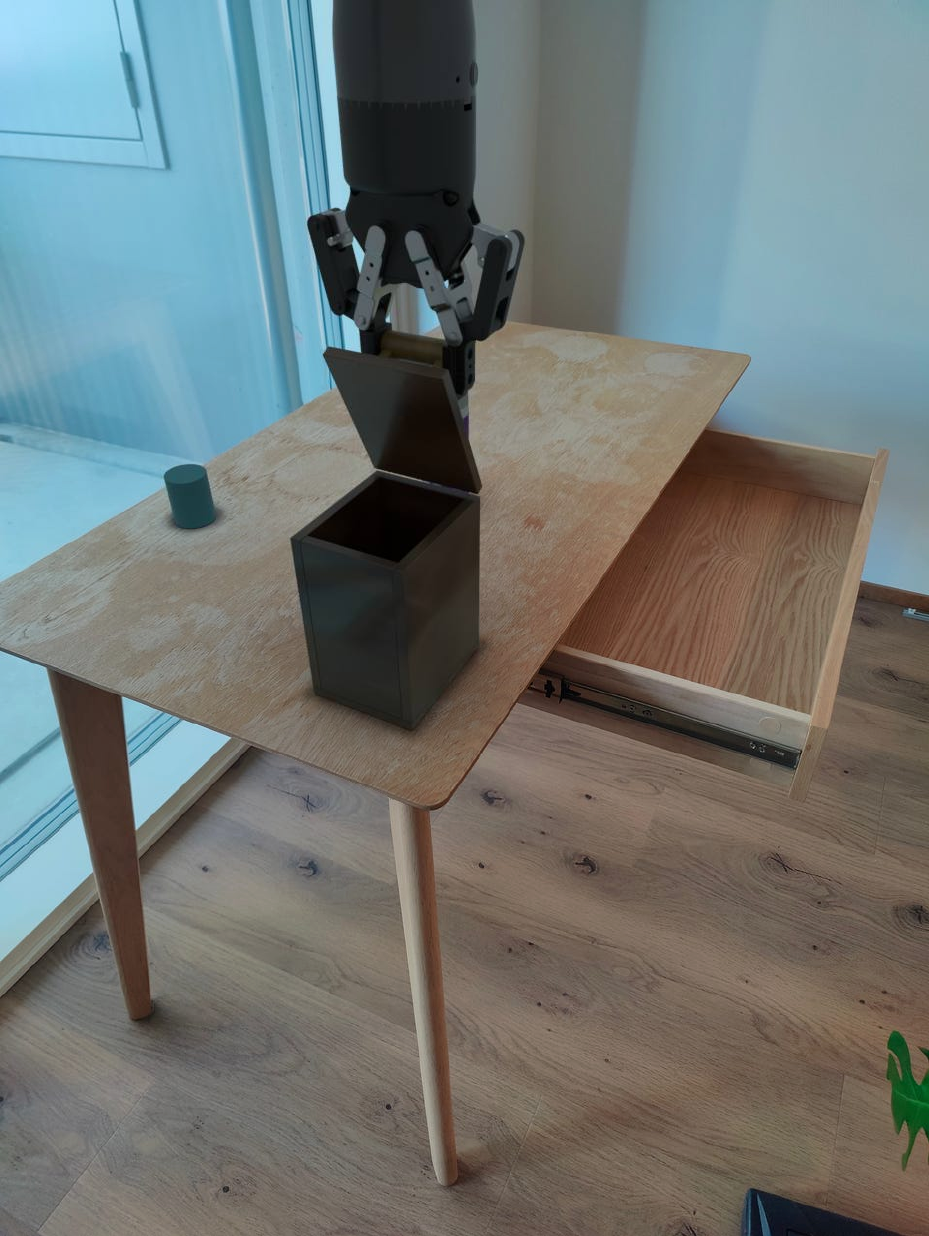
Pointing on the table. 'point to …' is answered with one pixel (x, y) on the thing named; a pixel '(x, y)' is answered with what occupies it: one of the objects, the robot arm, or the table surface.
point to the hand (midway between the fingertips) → (418, 388)
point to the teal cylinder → (190, 495)
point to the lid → (407, 410)
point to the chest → (390, 595)
